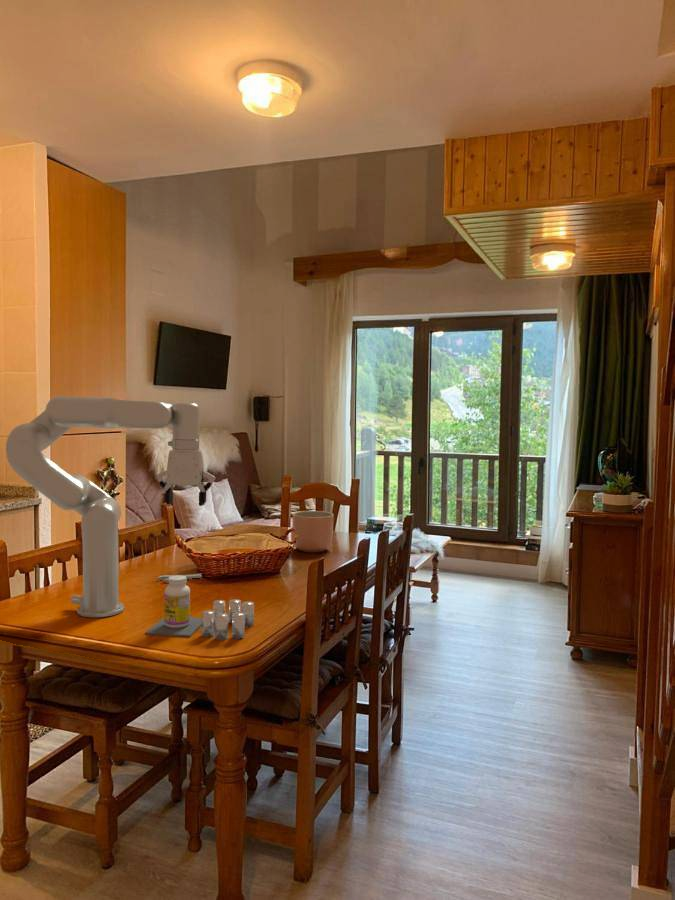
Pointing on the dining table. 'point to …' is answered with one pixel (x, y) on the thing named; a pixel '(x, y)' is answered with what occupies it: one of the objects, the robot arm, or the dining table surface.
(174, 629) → the rubber mat
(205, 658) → the dining table surface
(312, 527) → the planter
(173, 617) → the supplement bottle
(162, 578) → the adjustable wrench
